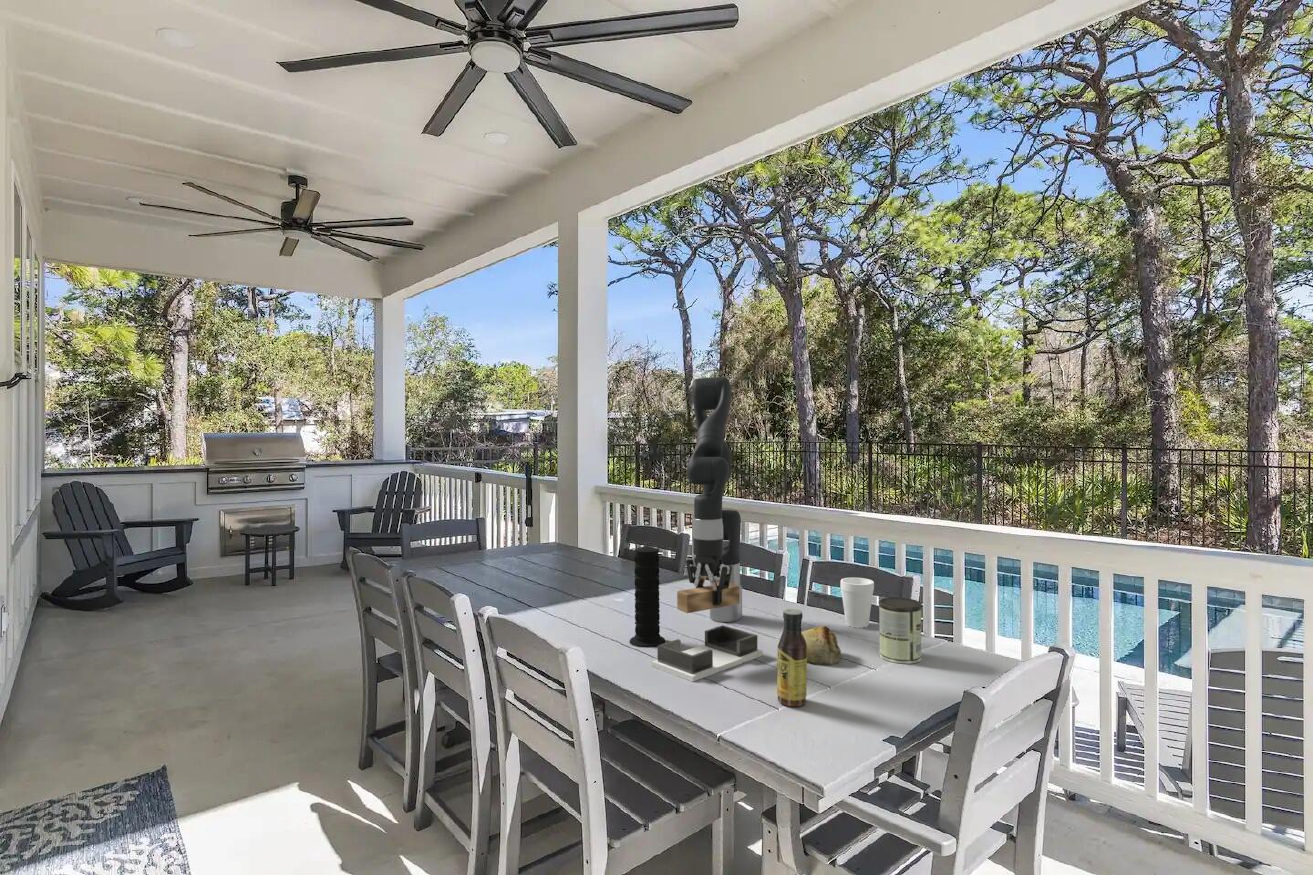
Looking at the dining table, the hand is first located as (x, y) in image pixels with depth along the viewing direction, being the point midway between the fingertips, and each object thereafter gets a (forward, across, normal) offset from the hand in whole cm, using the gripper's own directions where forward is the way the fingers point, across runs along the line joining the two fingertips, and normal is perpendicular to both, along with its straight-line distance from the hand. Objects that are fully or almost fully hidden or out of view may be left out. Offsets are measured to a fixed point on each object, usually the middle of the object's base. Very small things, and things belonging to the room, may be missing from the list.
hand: (708, 602), depth 173 cm
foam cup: (+15, -10, -54) cm, 56 cm away
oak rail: (+1, 0, 0) cm, 1 cm away
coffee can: (+15, -32, -37) cm, 51 cm away
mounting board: (+15, 0, 0) cm, 15 cm away
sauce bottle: (+15, -30, +6) cm, 34 cm away
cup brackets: (+13, 0, 0) cm, 13 cm away
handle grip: (+15, +22, +1) cm, 27 cm away
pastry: (+15, -17, -22) cm, 32 cm away
